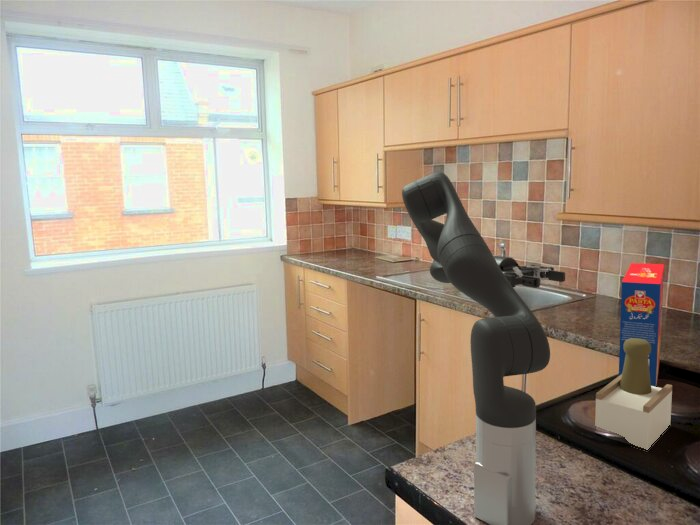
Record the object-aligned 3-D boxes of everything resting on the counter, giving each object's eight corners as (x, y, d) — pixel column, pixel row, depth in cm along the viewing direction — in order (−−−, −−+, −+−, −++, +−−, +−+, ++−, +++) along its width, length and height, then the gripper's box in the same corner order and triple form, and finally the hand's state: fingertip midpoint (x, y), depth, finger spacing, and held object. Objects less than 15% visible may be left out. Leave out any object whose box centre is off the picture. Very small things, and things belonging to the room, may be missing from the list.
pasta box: (655, 397, 123) (660, 284, 119) (618, 391, 127) (621, 281, 123) (659, 360, 146) (664, 264, 142) (628, 356, 150) (631, 263, 146)
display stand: (647, 451, 100) (649, 407, 98) (594, 434, 107) (595, 393, 106) (670, 425, 109) (672, 385, 108) (620, 411, 116) (622, 373, 115)
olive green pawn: (642, 382, 112) (644, 334, 111) (657, 394, 106) (660, 343, 105) (614, 383, 113) (616, 335, 111) (628, 395, 107) (630, 345, 105)
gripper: (472, 259, 119) (530, 267, 106) (514, 252, 127) (572, 258, 113) (473, 290, 120) (530, 302, 107) (514, 281, 128) (572, 291, 114)
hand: (551, 280), depth 110 cm, fingers open, 8 cm apart
